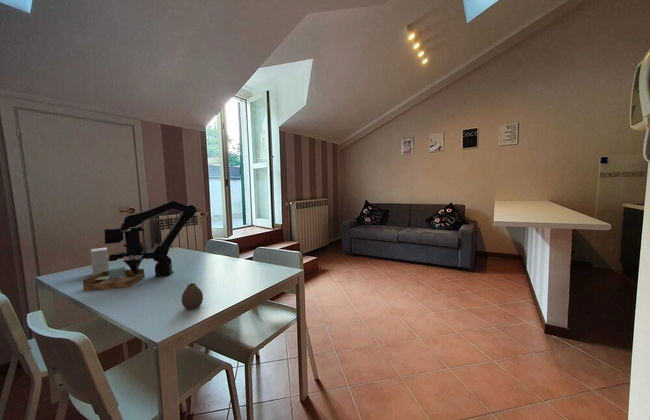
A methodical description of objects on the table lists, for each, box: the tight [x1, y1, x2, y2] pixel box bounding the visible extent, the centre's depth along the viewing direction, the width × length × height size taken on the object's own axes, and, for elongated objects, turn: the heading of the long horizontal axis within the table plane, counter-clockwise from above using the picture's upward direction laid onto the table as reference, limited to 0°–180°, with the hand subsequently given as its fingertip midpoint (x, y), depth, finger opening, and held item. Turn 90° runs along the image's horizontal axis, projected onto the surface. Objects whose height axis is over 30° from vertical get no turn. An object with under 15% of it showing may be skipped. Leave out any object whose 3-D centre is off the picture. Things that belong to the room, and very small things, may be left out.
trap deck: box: [82, 268, 146, 291], centre depth 121 cm, size 18×13×4 cm
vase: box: [181, 283, 204, 311], centre depth 95 cm, size 7×7×9 cm
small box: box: [90, 247, 110, 276], centre depth 136 cm, size 8×6×13 cm
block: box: [108, 265, 126, 278], centre depth 124 cm, size 4×4×4 cm
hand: (135, 273), depth 125 cm, fingers closed
